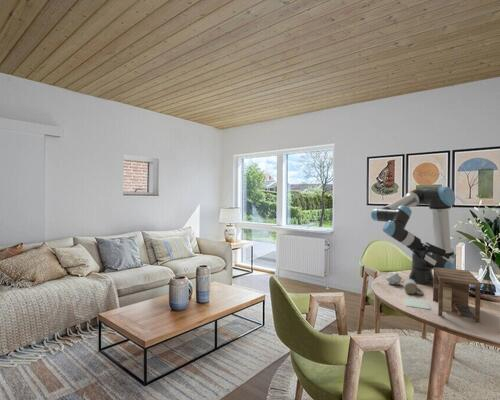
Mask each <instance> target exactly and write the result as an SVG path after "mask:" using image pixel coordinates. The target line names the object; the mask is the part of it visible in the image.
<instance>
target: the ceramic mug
mask: <svg viewBox="0 0 500 400" xmlns="http://www.w3.org/2000/svg"><path fill="white" fill-rule="evenodd" d="M402 284H403V289H404V290H405V292H406V293H407V294H409V295H414V294H416V293H417V294H418V295H420V296H421V295H423V293H424V291H423V290H421V288H419V287H418V283H416V282H415V281H414V280H412V279H409V278H407V279H405V280H404V281H403V283H402Z"/></svg>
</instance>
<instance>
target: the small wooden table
mask: <svg viewBox="0 0 500 400" xmlns="http://www.w3.org/2000/svg"><path fill="white" fill-rule="evenodd" d="M443 284H445V285H450V286H451V287H452V303H451V305H452V304H453V307H454V308H455V310H456V313H457V314H458V316H459V317H460V318H462V317H463V318H468V319H474V322H475V323H479V324H480V321H481V320H480V318H481V317H480V315H481V290H482V289H481V285H482V283H481V282H480V280H478V278H477V277H475V275H474V274H473V273H472V272H471V271H470V270H469V269H467V270H465V269H457V268H456V269H448V268H438V267H434V269H433V284H432V285H433V287H432V289H433V290H432V301H433V302H438V301H439V306H438V305H437V306H438V309H437V310H438V311H437V312H438V314H437V315H438V317H443V311H444V310H443ZM470 286H475V297H474V298H475V299H474V301H475V303H474V304H475V305H474V313H473V312H472V309H470V307H469V298H470V297H469V296H470V294H469V293H470Z"/></svg>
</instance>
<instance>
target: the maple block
mask: <svg viewBox="0 0 500 400" xmlns="http://www.w3.org/2000/svg"><path fill="white" fill-rule="evenodd" d="M437 302H438V305H437V306H439V301H437ZM442 311H445V312H452V287H451V286H450V285H445V284H443V310H442Z"/></svg>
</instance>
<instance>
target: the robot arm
mask: <svg viewBox="0 0 500 400" xmlns="http://www.w3.org/2000/svg"><path fill="white" fill-rule="evenodd" d="M455 202H456V195H455V191H454V190H453V189H452V188H451V187H449V186H442V185H441V186H422V187H418V188H415V189H413V190H411V191H408V192H407V193H406V194H405V195H404V196H403V197H402V196H401V197H400V198H399V199H396V200H395V201H392V202H390V203H389V204H387V205H386V206H384V207H382V208H374V209H372V211H371V212H370V213H371V214H370V215H371V219H372V220H373V221H376V222H384V223H385V224H384V225H383V226H382V231H383V232H384V233H385V235H387V236H388V237H390V238H392V239H394V240H395V241H397V242H398V243H400V244H401V245H402V246H405V247H406V248H408V249H409V250H410V251H411V253H412V255H411V257H412V258H411V259H412V260H411V265H412V266H411V271H410V272H409V275H408V279H412V280H414V281H415V282H416V284H418V285H419V284H420V285H433V277H434V273H433V270H434V267H438V268H448V269H457V268H456V255H457V254H456V253H455V250H454V249H453V248H452V244H451V231H450V230H451V227H450V214H449V213H450V210H451V208H452V206H453V205H455ZM419 205H420V206H421V205H425V206H429V208H428V209H429V210H431V211H432V226H433V238H434V245H433V244H432V243H429V242H426V241H425V243H423V242H422V241H421V240H422V239H420V238H419V237H418V236H416V235H415V234H413V233H412V232H410V231H408V230H407V229H406V226H407V224H408V222H409V221H410V218H411V215H412V213H413V212H412V209H411V207H416V206H419Z"/></svg>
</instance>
